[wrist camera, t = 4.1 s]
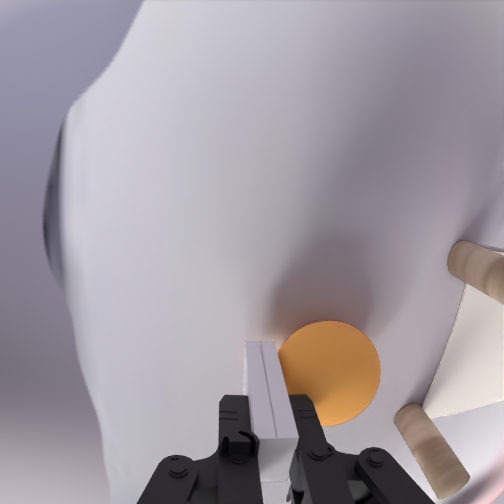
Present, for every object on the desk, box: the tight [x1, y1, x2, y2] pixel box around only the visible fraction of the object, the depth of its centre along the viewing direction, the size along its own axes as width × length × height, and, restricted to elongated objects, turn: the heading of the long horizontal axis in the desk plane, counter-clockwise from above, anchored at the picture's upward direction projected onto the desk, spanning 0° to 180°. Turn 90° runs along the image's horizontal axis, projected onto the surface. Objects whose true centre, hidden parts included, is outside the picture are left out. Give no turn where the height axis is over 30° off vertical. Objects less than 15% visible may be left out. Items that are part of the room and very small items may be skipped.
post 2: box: [448, 240, 504, 305], centre depth 13 cm, size 2×2×8 cm
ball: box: [278, 321, 380, 426], centre depth 15 cm, size 6×6×6 cm
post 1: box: [394, 403, 470, 499], centre depth 16 cm, size 2×2×8 cm
